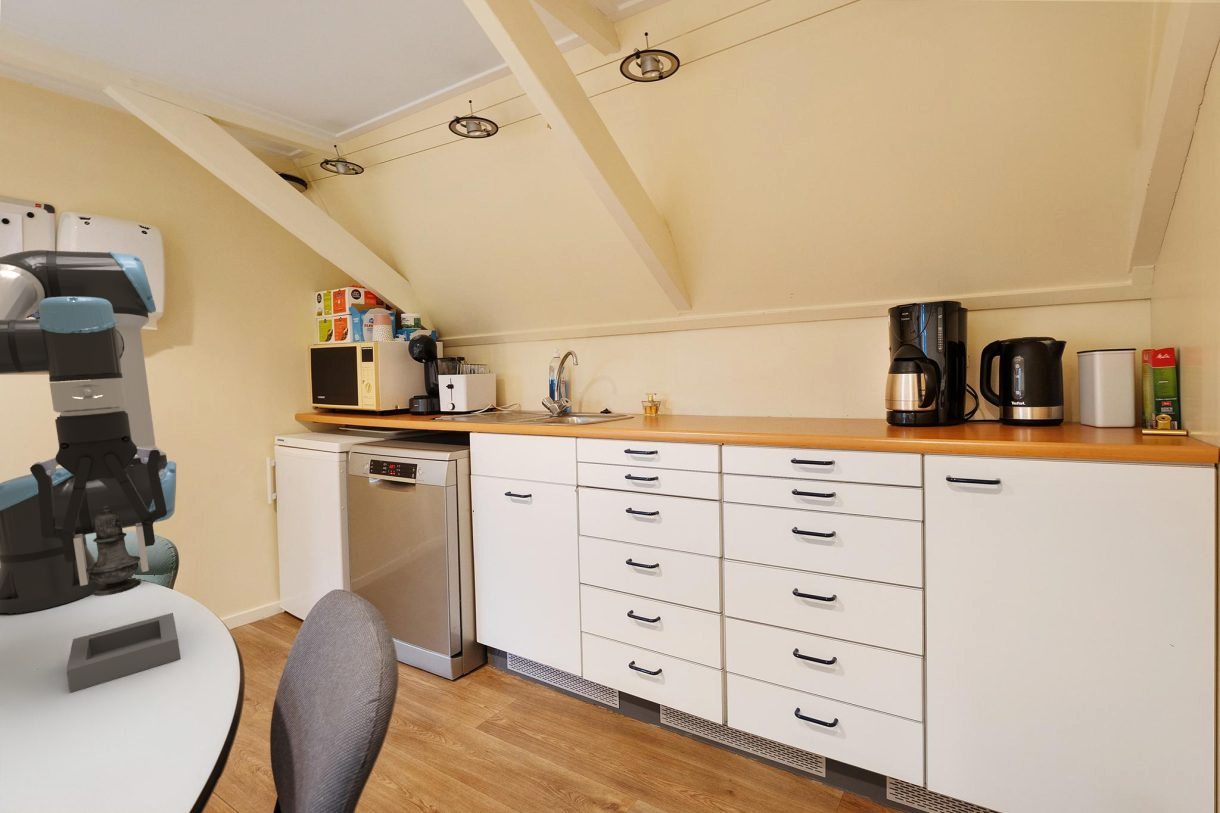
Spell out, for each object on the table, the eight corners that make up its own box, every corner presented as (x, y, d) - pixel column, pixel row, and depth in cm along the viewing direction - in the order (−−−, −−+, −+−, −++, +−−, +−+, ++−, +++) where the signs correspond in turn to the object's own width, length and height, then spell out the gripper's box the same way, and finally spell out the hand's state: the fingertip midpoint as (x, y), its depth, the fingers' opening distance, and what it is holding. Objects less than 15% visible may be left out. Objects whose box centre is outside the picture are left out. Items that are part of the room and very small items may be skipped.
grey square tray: (76, 658, 85) (73, 639, 84) (175, 631, 92) (173, 612, 92) (69, 692, 76) (66, 670, 75) (180, 658, 83) (177, 638, 83)
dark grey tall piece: (112, 597, 79) (100, 510, 78) (78, 596, 80) (65, 510, 79) (154, 580, 85) (143, 499, 84) (121, 579, 86) (110, 499, 85)
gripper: (-13, 422, 71) (17, 604, 74) (178, 405, 83) (199, 563, 85) (-2, 418, 77) (25, 588, 79) (175, 403, 89) (194, 551, 91)
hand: (115, 575), depth 82 cm, fingers closed on dark grey tall piece, 6 cm apart
